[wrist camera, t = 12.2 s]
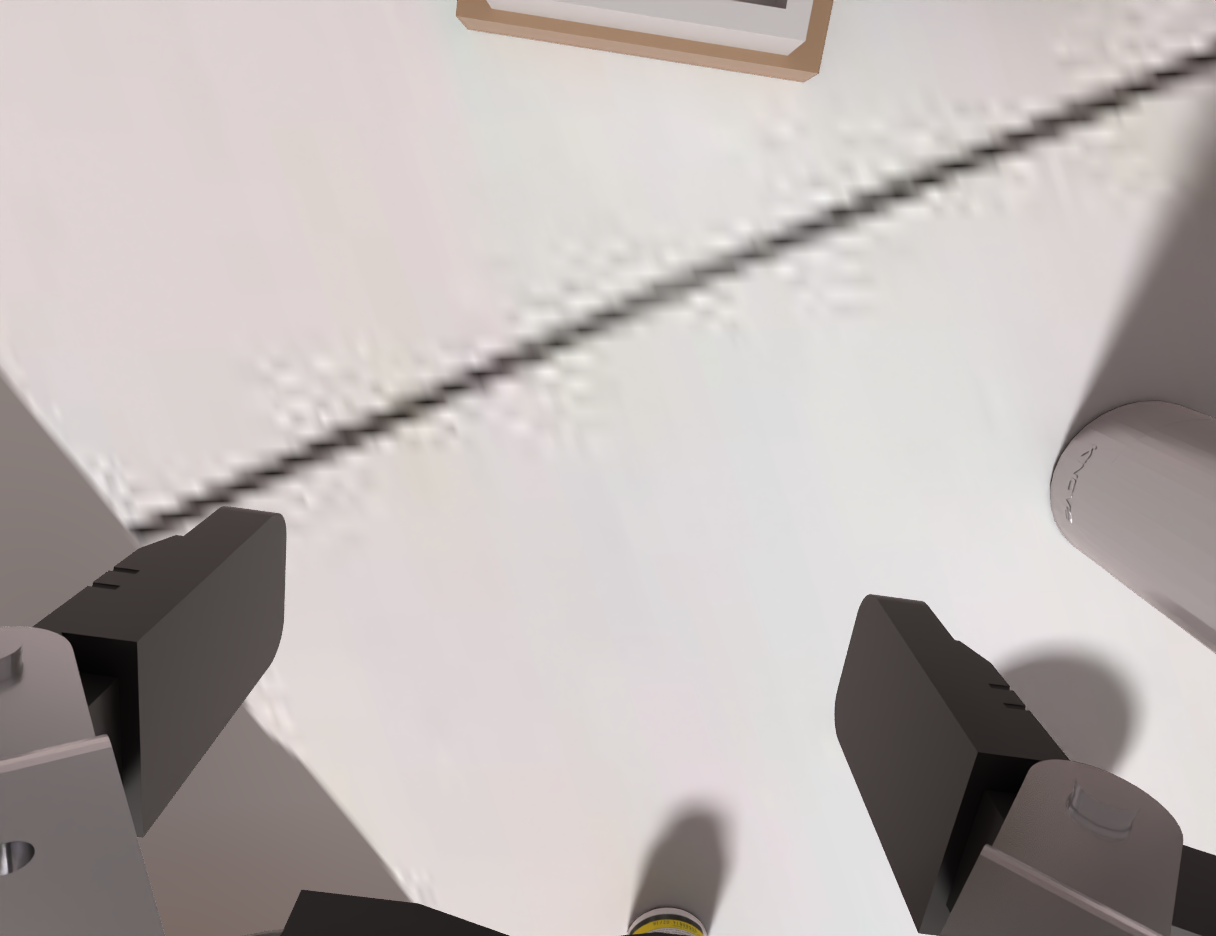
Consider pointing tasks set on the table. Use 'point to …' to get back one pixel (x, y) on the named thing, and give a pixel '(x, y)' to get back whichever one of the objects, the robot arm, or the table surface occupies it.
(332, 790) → the table surface
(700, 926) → the supplement bottle
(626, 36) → the tray
